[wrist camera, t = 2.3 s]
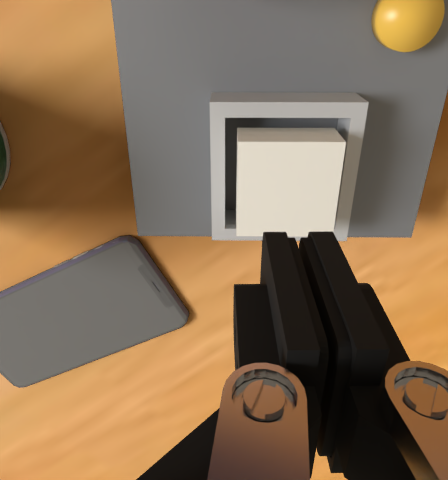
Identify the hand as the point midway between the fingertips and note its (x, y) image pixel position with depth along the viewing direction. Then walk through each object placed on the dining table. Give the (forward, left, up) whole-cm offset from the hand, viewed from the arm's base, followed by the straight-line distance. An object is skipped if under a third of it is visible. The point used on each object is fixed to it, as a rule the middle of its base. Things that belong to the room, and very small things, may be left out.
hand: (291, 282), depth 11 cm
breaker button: (-1, 0, -9) cm, 9 cm away
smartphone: (+12, +12, -14) cm, 22 cm away
